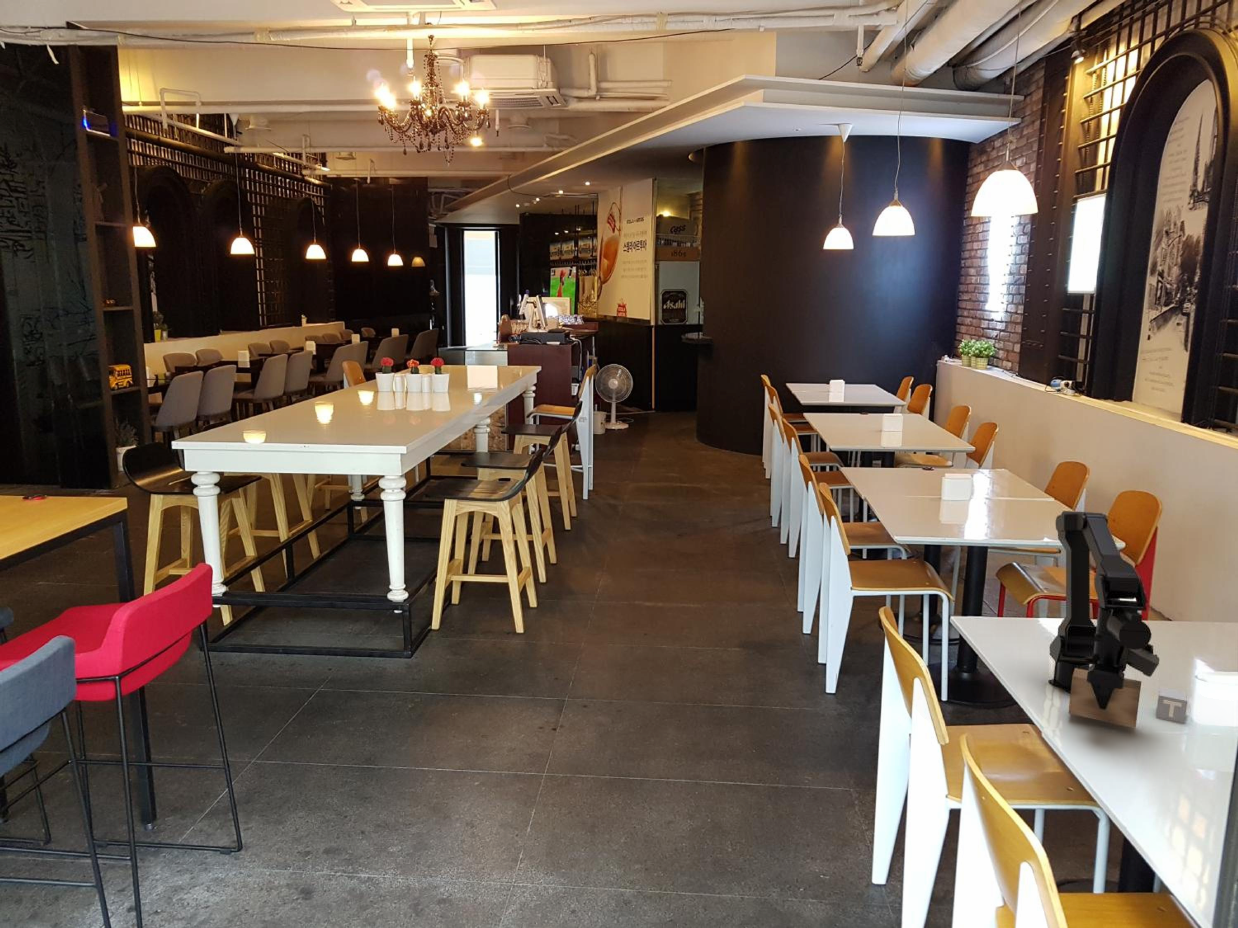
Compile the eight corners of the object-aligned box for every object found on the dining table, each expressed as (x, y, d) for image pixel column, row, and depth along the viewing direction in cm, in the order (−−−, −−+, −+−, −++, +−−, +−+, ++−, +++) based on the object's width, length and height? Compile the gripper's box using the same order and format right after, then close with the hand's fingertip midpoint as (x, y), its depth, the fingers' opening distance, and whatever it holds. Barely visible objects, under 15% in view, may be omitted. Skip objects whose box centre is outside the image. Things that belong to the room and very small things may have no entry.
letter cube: (1156, 708, 192) (1159, 686, 191) (1184, 714, 189) (1187, 692, 188) (1156, 718, 187) (1159, 695, 186) (1184, 724, 185) (1187, 701, 184)
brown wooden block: (1068, 712, 185) (1072, 676, 183) (1070, 703, 189) (1074, 667, 187) (1135, 728, 178) (1140, 690, 177) (1136, 718, 183) (1141, 681, 181)
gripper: (1157, 654, 168) (1147, 732, 171) (1160, 625, 184) (1151, 697, 187) (1090, 641, 174) (1082, 717, 177) (1098, 614, 190) (1090, 684, 193)
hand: (1103, 703), depth 183 cm, fingers closed on brown wooden block, 5 cm apart
